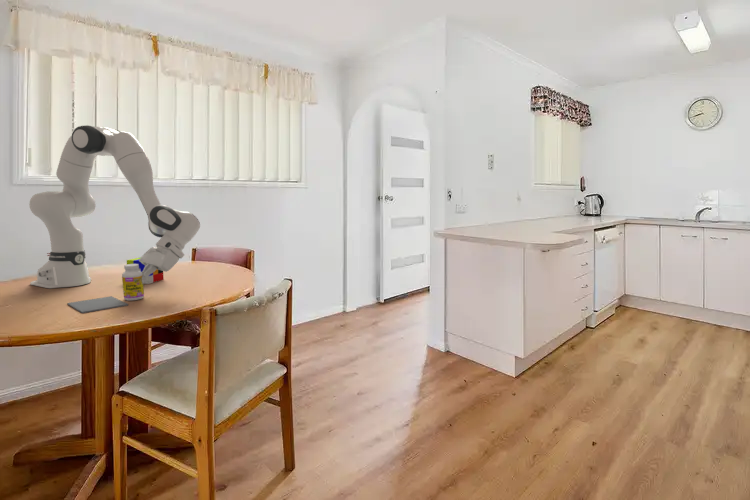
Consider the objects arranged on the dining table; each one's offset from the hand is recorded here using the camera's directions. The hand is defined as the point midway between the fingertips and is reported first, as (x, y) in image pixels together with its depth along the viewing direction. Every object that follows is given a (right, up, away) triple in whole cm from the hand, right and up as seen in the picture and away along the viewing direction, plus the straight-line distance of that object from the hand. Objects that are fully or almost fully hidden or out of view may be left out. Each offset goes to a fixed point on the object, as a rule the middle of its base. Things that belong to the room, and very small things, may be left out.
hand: (143, 275), depth 164 cm
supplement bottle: (-2, -9, -2) cm, 9 cm away
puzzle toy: (-15, -4, +29) cm, 33 cm away
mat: (-10, -10, -11) cm, 18 cm away
